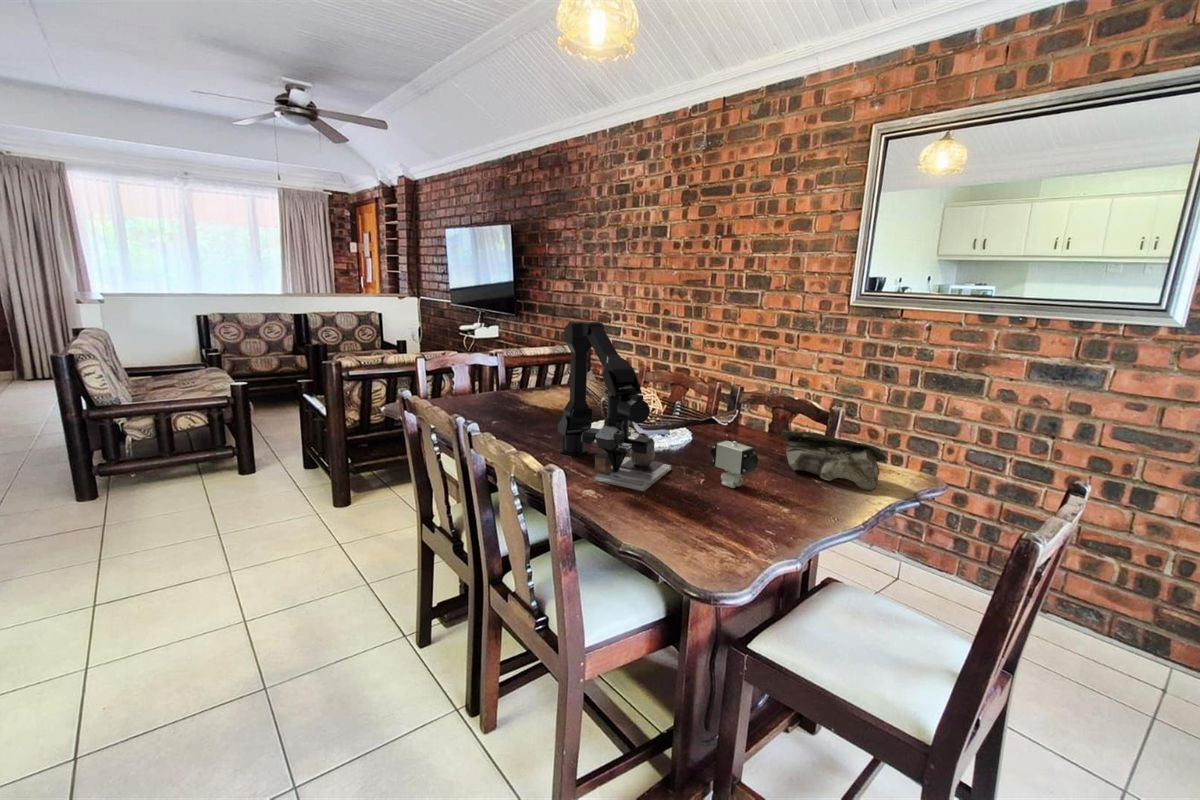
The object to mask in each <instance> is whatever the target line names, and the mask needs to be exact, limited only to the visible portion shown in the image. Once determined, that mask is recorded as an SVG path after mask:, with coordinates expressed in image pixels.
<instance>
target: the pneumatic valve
mask: <svg viewBox="0 0 1200 800" xmlns="http://www.w3.org/2000/svg"><path fill="white" fill-rule="evenodd" d="M709 456H710V458H711V459H712V462H713V465H712V466H713V467H716V468H720V469H721V470H722V469H723V470H724V472H722V473H721V475H720V480H721V485H723V486H726V487H728V488H731V489H735V488H737V487H741V486H742V485H743V480H744V479H743V477H742V476H744V475H746V474H749V473H751V472H754V471H755V469H756V468H757V467H758V463H759V457H758V455H757V454H756V452H755V448H754V447H751V446H748V445H745V444H741V443H740V442H739V443H738V441H735V440H733V441H729V440H726V439H725V440H722V441H717V442H715V443H714V444H713V445H712V446H711V448H710V451H709Z"/></svg>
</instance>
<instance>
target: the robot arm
mask: <svg viewBox="0 0 1200 800" xmlns="http://www.w3.org/2000/svg"><path fill="white" fill-rule="evenodd" d="M563 331H564V332H563V334H564V337H565V344H566V346H567V348H568V349H569V351H570V372H569V373H570V375H569V399H568V402H567V403H566V405H565V407H564V408H563V416H562V417H561V418H560V421H559V422H558V424H557V431H558V433H560V434H561V435H562V449H560V450H559V453H561V454H566V455H570V456H575V457H579V456H580V455H582V454H584V453H586V452H588V451H589V449H588V448H587V445H588V444H590V445H592V443H594V442H596V447H597V448H598V449H601V450H604V451H605V453H608V455H609V458H610V461H611V466H612V467H613V470H614V472H618V471H619V469H620V467H621V464H622V462H623V460H624V458H625V457H627V454H628V453H629V452H630V450H631V449H632V450H633V451H634V452H636V453H642V454H647V453H648V452H650V451H651V450H653V449H655V441H654V439H653V438H652V437H649V436H648V437H649V438H648V437H643V436H640V437H638V436H637V437H638V438H637V437H636V438H629V437H631V436H632V435H631V434H632V432H631V431H630V422H632V423H635V424H639V425H640V424H643V423H644V422H646V421H647V420H648V418H649V417H650V412H651V408H650V406H649V404H648V402H647V401H645V400H644V395H642V393H643V392H642V389H641V388H642V386H641V384H640V381H639V379H638V376H637V373H636V371H635V368H634V367H633V366H632V365H631V363H630V362H629V361H628V360H627V359H625V358H623V357H622V356H620V355H619V354H618V352H617V350H616V348H615V346H614V345H613V343H612V341H611V339H610V336H608V334H607V332H606V330H605V326H604V323H603V322H600V321H569V322H567V325H565V326H564V330H563ZM591 348H592V349H593V350H594V352H595V354H596V357H597V358H598V359H599V362H600V364H601V367H602V371H601V376H602V378H603V382H604V384H605V387H606V388H607V389H606V390H604V394H605V395H607V408H606V409H607V414H606V415H607V417H606V418H604V421H603V422H604V424H603V426H602V427H601V428H595V427H592V424H593V417H592V416H593V409H592V408H591V407H590V406H589V404H588V402H587V387H588V386H587V384H588V383H587V380H588V357H589V356H588V355H589V354H588V353H589V351H590V350H591Z"/></svg>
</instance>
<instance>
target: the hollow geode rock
mask: <svg viewBox="0 0 1200 800" xmlns="http://www.w3.org/2000/svg"><path fill="white" fill-rule="evenodd" d="M780 437H782V438H785V439H786V440H785V455H786V459H787V462H788V465H789V467H791V469H792V470H793V471H804V472H805V471H806V472H807V473H811V474H815V475H817V476H818V477H820V479H823V480H825V481H828V482H830V481H832V480H834V479H838V478H840V479H845V480H846V479H847V480H849V481H852V482H853V483H854V484H855V485H857V487H859V488H860V489H862V490H866V491H868V490H874V489H875V488H876V487H877V486H878V483H879V482H878V481H879V475H880V468H879V465H878V462H884V463H885V462H886V461H890V459H889V458H888V456H886V455H884V454H883V453H882V451H881V450H880V448H879V447H877V446H875V445H871V444H868V443H865V442H856V441H854V440H850V439H845V438H844V439H843V438H837V437H833V436H830V435H829V436H828V435H825V434H821V433H817V432H810V431H805V430H803V431H793V430H787V429H782V430H781V434H780Z"/></svg>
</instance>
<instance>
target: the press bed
mask: <svg viewBox="0 0 1200 800" xmlns="http://www.w3.org/2000/svg"><path fill="white" fill-rule="evenodd" d="M671 470H672V465H670V464H666V463H664V462H660V461H654V460H653V461H652V463H651V464H650V465H648V466H644V467H641V466H637V465H635V464H634V463H633V462H632V460H631V457H629V456H625V458H624V460H623V462H622V464H621V467H620V469H619V471H618V472H614V470H613V467H612V465H611V472H610V473H609V474H605V473H600V472H598V473H597V474H595V476H594V481H595V482H600V483H605V484H610V485H614V486H618V487H622V488H627V489H631V490H636V491H640V492H645V491H646V490H648V489H649V488H650V487H651V486H652V485H654V484H655V483H656V482H657V481H659V480H660V479H661V478H662V477H663V476H665V475H666V474H667V473H668V472H670V471H671Z"/></svg>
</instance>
